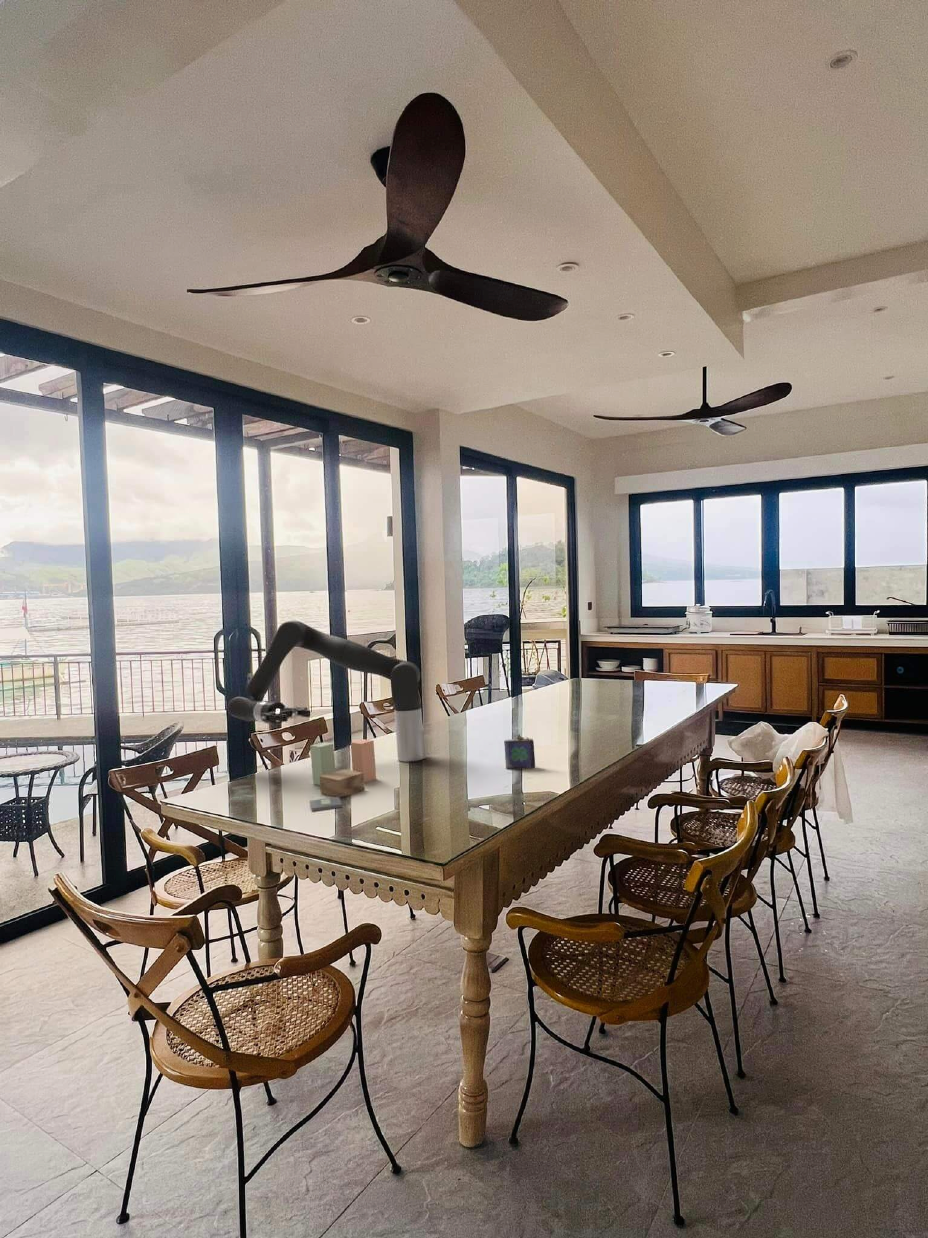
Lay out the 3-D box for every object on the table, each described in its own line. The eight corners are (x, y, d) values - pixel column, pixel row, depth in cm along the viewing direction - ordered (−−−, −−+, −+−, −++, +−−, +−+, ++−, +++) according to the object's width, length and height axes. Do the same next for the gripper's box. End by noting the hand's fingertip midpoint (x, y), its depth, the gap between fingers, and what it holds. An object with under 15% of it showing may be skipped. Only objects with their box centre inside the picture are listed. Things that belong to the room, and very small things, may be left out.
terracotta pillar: (366, 777, 224) (363, 739, 224) (376, 779, 221) (373, 740, 221) (353, 780, 221) (350, 742, 220) (363, 783, 217) (360, 743, 217)
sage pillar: (326, 780, 224) (323, 742, 223) (336, 782, 220) (333, 743, 220) (313, 784, 220) (310, 745, 220) (322, 786, 217) (319, 747, 216)
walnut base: (345, 785, 215) (344, 769, 215) (364, 789, 209) (363, 772, 209) (320, 793, 209) (319, 776, 209) (339, 797, 203) (338, 780, 202)
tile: (338, 799, 201) (338, 796, 201) (342, 807, 193) (341, 803, 193) (309, 803, 199) (309, 800, 198) (312, 811, 191) (311, 807, 191)
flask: (505, 769, 222) (503, 735, 222) (506, 767, 225) (504, 733, 224) (535, 768, 220) (532, 734, 220) (535, 766, 223) (533, 732, 223)
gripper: (249, 704, 232) (278, 707, 221) (287, 698, 243) (315, 700, 232) (251, 727, 232) (279, 731, 222) (288, 719, 243) (317, 723, 232)
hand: (298, 716), depth 227 cm, fingers open, 8 cm apart
